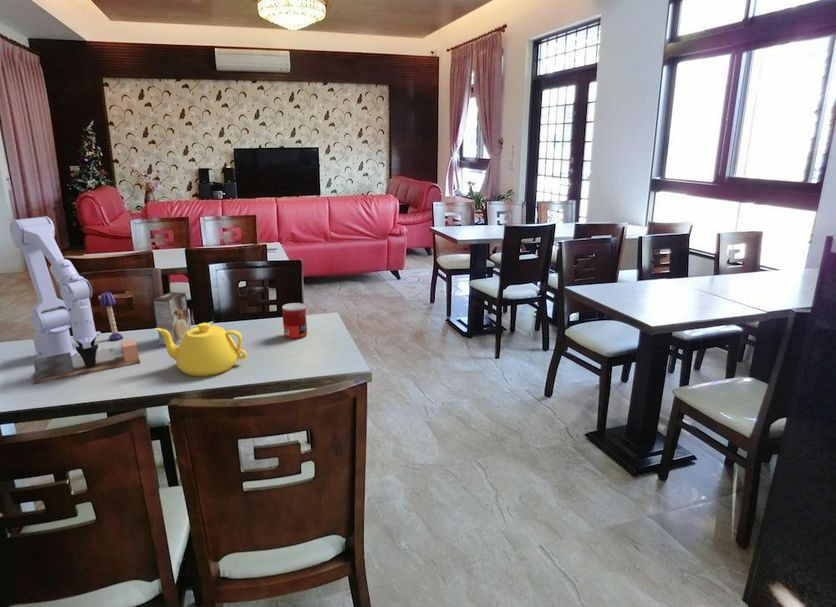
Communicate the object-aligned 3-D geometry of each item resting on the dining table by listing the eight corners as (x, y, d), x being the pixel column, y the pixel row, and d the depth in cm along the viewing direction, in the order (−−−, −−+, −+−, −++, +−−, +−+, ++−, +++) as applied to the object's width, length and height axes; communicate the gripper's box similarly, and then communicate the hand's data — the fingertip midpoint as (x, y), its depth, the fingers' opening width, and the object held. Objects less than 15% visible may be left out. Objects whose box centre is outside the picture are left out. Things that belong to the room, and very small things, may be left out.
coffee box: (176, 335, 192) (169, 291, 187) (192, 336, 190) (186, 292, 186) (159, 344, 183) (152, 299, 178) (176, 345, 182) (169, 300, 177)
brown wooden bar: (33, 384, 154) (29, 366, 152) (34, 374, 160) (30, 357, 159) (140, 363, 168) (137, 346, 166) (137, 354, 174) (134, 339, 173)
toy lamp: (112, 342, 185) (103, 295, 180) (104, 340, 187) (95, 293, 183) (125, 338, 189) (117, 292, 184) (117, 335, 191) (109, 290, 187)
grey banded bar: (40, 373, 156) (38, 364, 155) (40, 370, 159) (38, 361, 158) (115, 359, 166) (113, 350, 165) (114, 356, 168) (112, 348, 168)
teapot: (153, 381, 155) (145, 337, 151) (169, 358, 172) (163, 317, 168) (243, 375, 159) (239, 331, 155) (251, 353, 176) (247, 312, 172)
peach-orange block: (125, 362, 167) (122, 347, 165) (123, 357, 171) (120, 341, 170) (138, 360, 169) (136, 344, 167) (136, 354, 173) (134, 339, 172)
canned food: (304, 339, 187) (302, 309, 184) (281, 339, 187) (279, 309, 184) (309, 332, 194) (307, 302, 191) (287, 332, 194) (284, 302, 191)
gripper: (99, 324, 156) (107, 368, 160) (96, 312, 168) (103, 352, 172) (70, 329, 153) (79, 373, 157) (69, 316, 164) (77, 357, 168)
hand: (90, 363), depth 164 cm, fingers open, 7 cm apart
